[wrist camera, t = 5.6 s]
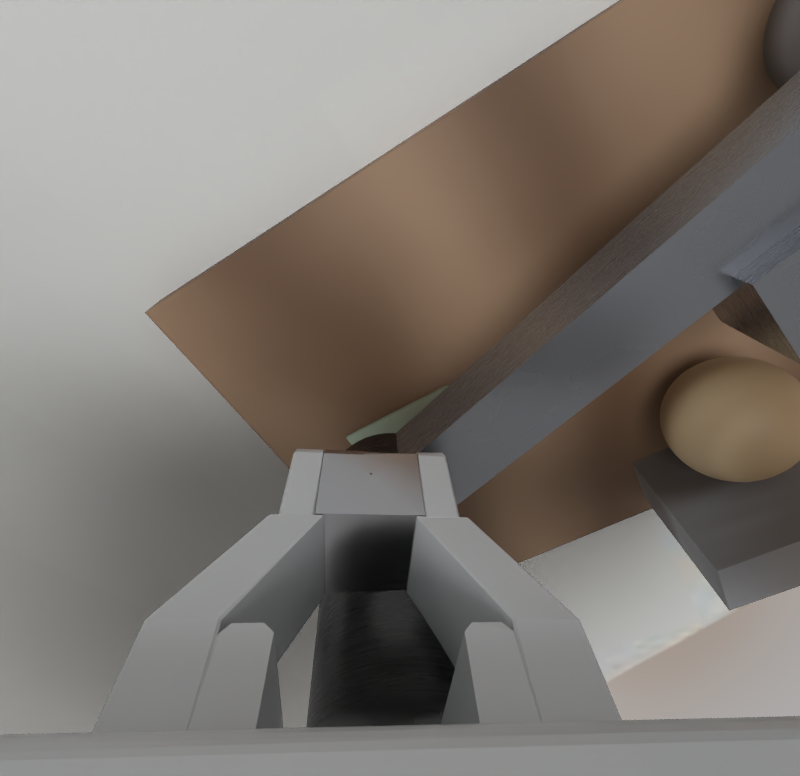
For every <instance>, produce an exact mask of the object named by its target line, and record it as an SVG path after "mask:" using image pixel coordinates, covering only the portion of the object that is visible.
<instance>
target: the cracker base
mask: <svg viewBox="0 0 800 776" xmlns="http://www.w3.org/2000/svg"><path fill="white" fill-rule="evenodd" d="M799 71H800V0H619V1H618V2H616V3H615V4H613V5H612V6H610V7H609V8H607V9H606V10H604V11H603V12H601V13H599V14H598V15H596V16H595V17H593V18H592V19H590V20H589V21H587V22H586V23H584V24H583V25H581V26H580V27H578V28H576V29H575V30H573V31H572V32H570V33H569V34H567V35H566V36H564V37H563V38H561V39H560V40H558V41H557V42H555V43H554V44H552V45H550V46H549V47H547V48H546V49H544V50H543V51H541V52H540V53H538V54H537V55H535V56H534V57H532V58H531V59H529V60H527V61H526V62H524V63H523V64H521V65H520V66H518V67H517V68H515V69H514V70H512V71H511V72H509V73H508V74H506V75H505V76H503V77H501V78H500V79H498V80H497V81H495V82H494V83H492V84H491V85H489V86H488V87H486V88H485V89H483V90H482V91H480V92H478V93H477V94H475V95H474V96H472V97H471V98H469V99H468V100H466V101H465V102H463V103H462V104H460V105H459V106H457V107H456V108H454V109H452V110H451V111H449V112H448V113H446V114H445V115H443V116H442V117H440V118H439V119H437V120H436V121H434V122H433V123H431V124H429V125H428V126H426V127H425V128H423V129H422V130H420V131H419V132H417V133H416V134H414V135H413V136H411V137H410V138H408V139H407V140H405V141H403V142H402V143H400V144H399V145H397V146H396V147H394V148H393V149H391V150H390V151H388V152H387V153H385V154H384V155H382V156H380V157H379V158H377V159H376V160H374V161H373V162H371V163H370V164H368V165H367V166H365V167H364V168H362V169H361V170H359V171H358V172H356V173H354V174H353V175H351V176H350V177H348V178H347V179H345V180H344V181H342V182H341V183H339V184H338V185H336V186H335V187H333V188H331V189H330V190H328V191H327V192H325V193H324V194H322V195H321V196H319V197H318V198H316V199H315V200H313V201H312V202H310V203H309V204H307V205H305V206H304V207H302V208H301V209H299V210H298V211H296V212H295V213H293V214H292V215H290V216H289V217H287V218H286V219H284V220H283V221H281V222H279V223H278V224H276V225H275V226H273V227H272V228H270V229H269V230H267V231H266V232H264V233H263V234H261V235H260V236H258V237H256V238H255V239H253V240H252V241H250V242H249V243H247V244H246V245H244V246H243V247H241V248H240V249H238V250H237V251H235V252H234V253H232V254H230V255H229V256H227V257H226V258H224V259H223V260H221V261H220V262H218V263H217V264H215V265H214V266H212V267H211V268H209V269H207V270H206V271H204V272H203V273H201V274H200V275H198V276H197V277H195V278H194V279H192V280H191V281H189V282H188V283H186V284H185V285H183V286H181V287H180V288H178V289H177V290H175V291H174V292H172V293H171V294H169V295H168V296H166V297H165V298H163V299H162V300H160V301H159V302H158V303H156V304H155V305H154V306H153V307H151V308H150V309H149V310H148V311H146V312H145V313H146V314H147V315H148V316H149V318H150V319H151V320H152V321H153V322H154V323H155V324H156V325H157V326H158V327H159V328H160V329H161V330H162V332H163V333H164V334H165V335H166V336H167V337H168V338H169V339H170V340H171V341H172V342H173V343H174V344H175V346H176V347H177V348H178V349H179V350H180V351H181V352H182V353H183V354H184V355H185V356H186V357H187V358H188V360H189V361H190V362H191V363H192V364H193V365H194V366H195V367H196V368H197V369H198V370H199V371H200V373H201V374H202V375H203V376H204V377H205V378H206V379H207V380H208V381H209V382H210V383H211V384H212V385H213V387H214V388H215V389H216V390H217V391H218V392H219V393H220V394H221V395H222V396H223V397H224V398H225V399H226V401H227V402H228V403H229V404H230V405H231V406H232V407H233V408H234V409H235V410H236V411H237V412H238V413H239V415H240V416H241V417H242V418H243V419H244V420H245V421H246V422H247V423H248V424H249V425H250V426H251V428H252V429H253V430H254V431H255V432H256V433H257V434H258V435H259V436H260V437H261V438H262V439H263V440H264V442H265V443H266V444H267V445H268V446H269V447H270V448H271V449H272V450H273V451H274V452H275V453H276V454H277V456H278V457H279V458H280V459H281V460H282V461H283V462H284V463H285V464H286V465H287V466H288V467H289V468H290V466H291V462H292V458H293V454H294V452H295V451H296V449H319V450H324V451H325V450H344V451H346V449H348V448H349V447H350V446H351V445H353V444H354V443H356V442H358V441H360V440H362V439H364V438H366V437H369V436H372V435H377V434H383V433H397V432H398V431H399V430H400V429H401V428H402V427H403V426H404V425H406V424H407V423H408V422H409V421H410V420H411V419H412V418H413V417H414V416H416V415H417V414H418V413H419V412H420V411H421V410H422V409H423V408H425V407H426V406H427V405H428V404H429V403H430V402H431V401H432V400H433V399H435V398H436V397H437V396H438V395H439V394H440V393H441V392H442V391H443V390H445V389H446V388H447V387H448V386H449V385H450V384H451V383H452V382H453V381H455V380H456V379H457V378H458V377H459V376H460V375H461V374H462V373H463V372H465V371H466V370H467V369H468V368H469V367H470V366H471V365H472V364H474V363H475V362H476V361H477V360H478V359H479V358H480V357H481V356H482V355H484V354H485V353H486V352H487V351H488V350H489V349H490V348H491V347H492V346H494V345H495V344H496V343H497V342H498V341H499V340H500V339H501V338H502V337H504V336H505V335H506V334H507V333H508V332H509V331H510V330H511V329H513V328H514V327H515V326H516V325H517V324H518V323H519V322H520V321H521V320H523V319H524V318H525V317H526V316H527V315H528V314H529V313H530V312H531V311H533V310H534V309H535V308H536V307H537V306H538V305H539V304H540V303H541V302H543V301H544V300H545V299H546V298H547V297H548V296H549V295H550V294H551V293H553V292H554V291H555V290H556V289H557V288H558V287H559V286H560V285H562V284H563V283H564V282H565V281H566V280H567V279H568V278H569V277H570V276H572V275H573V274H574V273H575V272H576V271H577V270H578V269H579V268H580V267H582V266H583V265H584V264H585V263H586V262H587V261H588V260H589V259H590V258H592V257H593V256H594V255H595V254H596V253H597V252H598V251H599V250H600V249H602V248H603V247H604V246H605V245H606V244H607V243H608V242H609V241H611V240H612V239H613V238H614V237H615V236H616V235H617V234H618V233H619V232H621V231H622V230H623V229H624V228H625V227H626V226H627V225H628V224H629V223H631V222H632V221H633V220H634V219H635V218H636V217H637V216H638V215H639V214H641V213H642V212H643V211H644V210H645V209H646V208H647V207H648V206H649V205H651V204H652V203H653V202H654V201H655V200H656V199H657V198H658V197H660V196H661V195H662V194H663V193H664V192H665V191H666V190H667V189H668V188H670V187H671V186H672V185H673V184H674V183H675V182H676V181H677V180H678V179H680V178H681V177H682V176H683V175H684V174H685V173H686V172H687V171H688V170H690V169H691V168H692V167H693V166H694V165H695V164H696V163H697V162H699V161H700V160H701V159H702V158H703V157H704V156H705V155H706V154H707V153H709V152H710V151H711V150H712V149H713V148H714V147H715V146H716V145H717V144H719V143H720V142H721V141H722V140H723V139H724V138H725V137H726V136H727V135H729V134H730V133H731V132H732V131H733V130H734V129H735V128H736V127H737V126H739V125H740V124H741V123H742V122H743V121H744V120H745V119H746V118H748V117H749V116H750V115H751V114H752V113H753V112H754V111H755V110H756V109H758V108H759V107H760V106H761V105H762V104H763V103H764V102H765V101H766V100H768V99H769V98H770V97H771V96H772V95H773V94H774V93H775V92H776V91H778V90H779V89H780V88H781V87H782V86H783V85H784V84H785V83H786V82H788V81H789V80H790V79H791V78H792V77H793V76H794V75H795V74H797V73H798V72H799ZM652 508H653V509H654V511H655V512H656V513H657V515H658V516H659V517H660V518H661V520H662V521H663V522H664V524H665V525H666V526H667V528H668V529H669V530H670V532H671V533H672V534H673V536H674V537H675V538H676V540H677V541H678V542H679V544H680V545H681V546H682V548H683V549H684V550H685V552H686V553H687V554H688V556H689V557H690V558H691V560H692V561H693V562H694V564H695V565H696V566H697V568H698V569H699V570H700V572H701V573H702V574H703V576H704V577H705V578H706V580H707V581H708V582H709V584H710V585H711V586H712V588H713V589H714V590H715V592H716V593H717V594H718V596H719V597H720V598H721V600H722V601H723V602H724V604H725V605H726V606H727V608H728V609H729V610H732V609H735V608H738V607H740V606H743V605H746V604H749V603H752V602H755V601H758V600H761V599H763V598H766V597H769V596H772V595H775V594H778V593H781V592H784V591H786V590H789V589H792V588H795V587H798V586H800V364H799V363H797V362H795V361H793V360H791V359H789V358H787V357H786V356H784V355H782V354H780V353H778V352H776V351H775V350H773V349H771V348H769V347H767V346H765V345H763V344H762V343H760V342H758V341H756V340H754V339H752V338H751V337H749V336H747V335H745V334H743V333H741V332H739V331H738V330H736V329H734V328H732V327H730V326H728V325H727V324H725V323H723V322H721V321H720V320H719V318H718V317H717V315H716V314H715V312H714V311H713V310H712V309H711V310H710V311H708V312H707V313H706V314H705V315H703V316H702V317H701V318H699V319H698V320H697V321H695V322H694V323H693V324H692V325H690V326H689V327H688V328H686V329H685V330H684V331H682V332H681V333H680V334H679V335H677V336H676V337H675V338H673V339H672V340H671V341H670V342H668V343H667V344H666V345H664V346H663V347H662V348H660V349H659V350H658V351H657V352H655V353H654V354H653V355H651V356H650V357H649V358H647V359H646V360H645V361H644V362H642V363H641V364H640V365H638V366H637V367H636V368H634V369H633V370H632V371H631V372H629V373H628V374H627V375H625V376H624V377H623V378H622V379H620V380H619V381H618V382H616V383H615V384H614V385H612V386H611V387H610V388H609V389H607V390H606V391H605V392H603V393H602V394H601V395H599V396H598V397H597V398H596V399H594V400H593V401H592V402H590V403H589V404H588V405H586V406H585V407H584V408H583V409H581V410H580V411H579V412H577V413H576V414H575V415H574V416H572V417H571V418H570V419H568V420H567V421H566V422H564V423H563V424H562V425H561V426H559V427H558V428H557V429H555V430H554V431H553V432H551V433H550V434H549V435H548V436H546V437H545V438H544V439H542V440H541V441H540V442H538V443H537V444H536V445H535V446H533V447H532V448H531V449H529V450H528V451H527V452H526V453H524V454H523V455H522V456H520V457H519V458H518V459H516V460H515V461H514V462H513V463H511V464H510V465H509V466H507V467H506V468H505V469H503V470H502V471H501V472H500V473H498V474H497V475H496V476H494V477H493V478H492V479H490V480H489V481H488V482H487V483H485V484H484V485H483V486H481V487H480V488H479V489H478V490H476V491H475V492H474V493H472V494H471V495H470V496H468V497H467V498H466V499H465V500H463V501H462V502H461V503H459V504H458V505H457V509H458V513H459V517H467V518H469V519H470V520H471V521H472V522H473V523H474V524H475V525H477V526H478V527H479V528H480V529H481V530H482V531H483V532H484V533H485V534H486V535H487V536H489V537H490V538H491V539H492V540H493V541H494V542H495V543H496V544H497V545H498V546H499V547H501V548H502V549H503V550H504V551H505V552H506V553H507V554H508V555H509V556H510V557H511V558H513V559H514V560H515V561H516V562H517V563H519V562H522V561H524V560H527V559H529V558H532V557H534V556H536V555H539V554H541V553H544V552H546V551H549V550H551V549H554V548H556V547H558V546H561V545H563V544H566V543H568V542H571V541H573V540H576V539H578V538H581V537H583V536H585V535H588V534H590V533H593V532H595V531H598V530H600V529H603V528H605V527H607V526H610V525H612V524H615V523H617V522H620V521H622V520H625V519H627V518H630V517H632V516H634V515H637V514H639V513H642V512H644V511H647V510H649V509H652Z"/></svg>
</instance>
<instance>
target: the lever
mask: <svg viewBox="0 0 800 776" xmlns="http://www.w3.org/2000/svg"><path fill="white" fill-rule="evenodd" d="M711 309H712V310H713V311H714V312H715V314H716V315H717V317H718V318H719V320H720V321H721V322H723V323H725V324H727V325H728V326H730V327H732V328H734V329H736V330H738V331H739V332H741V333H743V334H745V335H747V336H749V337H751V338H752V339H754V340H756V341H758V342H760V343H762V344H763V345H765V346H767V347H769V348H771V349H773V350H775V351H776V352H778V353H780V354H782V355H784V356H786V357H787V358H789V359H791V360H793V361H795V362H797V363H799V364H800V71H799V72H798V73H797V74H795V75H794V76H793V77H792V78H791V79H790V80H789V81H788V82H786V83H785V84H784V85H783V86H782V87H781V88H780V89H779V90H778V91H776V92H775V93H774V94H773V95H772V96H771V97H770V98H769V99H768V100H766V101H765V102H764V103H763V104H762V105H761V106H760V107H759V108H758V109H756V110H755V111H754V112H753V113H752V114H751V115H750V116H749V117H748V118H746V119H745V120H744V121H743V122H742V123H741V124H740V125H739V126H737V127H736V128H735V129H734V130H733V131H732V132H731V133H730V134H729V135H727V136H726V137H725V138H724V139H723V140H722V141H721V142H720V143H719V144H717V145H716V146H715V147H714V148H713V149H712V150H711V151H710V152H709V153H707V154H706V155H705V156H704V157H703V158H702V159H701V160H700V161H699V162H697V163H696V164H695V165H694V166H693V167H692V168H691V169H690V170H688V171H687V172H686V173H685V174H684V175H683V176H682V177H681V178H680V179H678V180H677V181H676V182H675V183H674V184H673V185H672V186H671V187H670V188H668V189H667V190H666V191H665V192H664V193H663V194H662V195H661V196H660V197H658V198H657V199H656V200H655V201H654V202H653V203H652V204H651V205H649V206H648V207H647V208H646V209H645V210H644V211H643V212H642V213H641V214H639V215H638V216H637V217H636V218H635V219H634V220H633V221H632V222H631V223H629V224H628V225H627V226H626V227H625V228H624V229H623V230H622V231H621V232H619V233H618V234H617V235H616V236H615V237H614V238H613V239H612V240H611V241H609V242H608V243H607V244H606V245H605V246H604V247H603V248H602V249H600V250H599V251H598V252H597V253H596V254H595V255H594V256H593V257H592V258H590V259H589V260H588V261H587V262H586V263H585V264H584V265H583V266H582V267H580V268H579V269H578V270H577V271H576V272H575V273H574V274H573V275H572V276H570V277H569V278H568V279H567V280H566V281H565V282H564V283H563V284H562V285H560V286H559V287H558V288H557V289H556V290H555V291H554V292H553V293H551V294H550V295H549V296H548V297H547V298H546V299H545V300H544V301H543V302H541V303H540V304H539V305H538V306H537V307H536V308H535V309H534V310H533V311H531V312H530V313H529V314H528V315H527V316H526V317H525V318H524V319H523V320H521V321H520V322H519V323H518V324H517V325H516V326H515V327H514V328H513V329H511V330H510V331H509V332H508V333H507V334H506V335H505V336H504V337H502V338H501V339H500V340H499V341H498V342H497V343H496V344H495V345H494V346H492V347H491V348H490V349H489V350H488V351H487V352H486V353H485V354H484V355H482V356H481V357H480V358H479V359H478V360H477V361H476V362H475V363H474V364H472V365H471V366H470V367H469V368H468V369H467V370H466V371H465V372H463V373H462V374H461V375H460V376H459V377H458V378H457V379H456V380H455V381H453V382H452V383H451V384H450V385H449V386H448V387H447V388H446V389H445V390H443V391H442V392H441V393H440V394H439V395H438V396H437V397H436V398H435V399H433V400H432V401H431V402H430V403H429V404H428V405H427V406H426V407H425V408H423V409H422V410H421V411H420V412H419V413H418V414H417V415H416V416H414V417H413V418H412V419H411V420H410V421H409V422H408V423H407V424H406V425H404V426H403V427H402V428H401V429H400V430H399V431H398V432H397V433H383V434H377V435H372V436H369V437H366V438H364V439H362V440H360V441H358V442H356V443H354V444H353V445H351V446H350V447H349V448H348V449H346V451H364V452H379V453H415V454H416V453H443V454H444V455H445V456H446V461H447V465H448V469H449V474H450V478H451V482H452V487H453V491H454V496H455V500H456V504H457V505H458V504H459V503H461V502H462V501H463V500H465V499H466V498H467V497H468V496H470V495H471V494H472V493H474V492H475V491H476V490H478V489H479V488H480V487H481V486H483V485H484V484H485V483H487V482H488V481H489V480H490V479H492V478H493V477H494V476H496V475H497V474H498V473H500V472H501V471H502V470H503V469H505V468H506V467H507V466H509V465H510V464H511V463H513V462H514V461H515V460H516V459H518V458H519V457H520V456H522V455H523V454H524V453H526V452H527V451H528V450H529V449H531V448H532V447H533V446H535V445H536V444H537V443H538V442H540V441H541V440H542V439H544V438H545V437H546V436H548V435H549V434H550V433H551V432H553V431H554V430H555V429H557V428H558V427H559V426H561V425H562V424H563V423H564V422H566V421H567V420H568V419H570V418H571V417H572V416H574V415H575V414H576V413H577V412H579V411H580V410H581V409H583V408H584V407H585V406H586V405H588V404H589V403H590V402H592V401H593V400H594V399H596V398H597V397H598V396H599V395H601V394H602V393H603V392H605V391H606V390H607V389H609V388H610V387H611V386H612V385H614V384H615V383H616V382H618V381H619V380H620V379H622V378H623V377H624V376H625V375H627V374H628V373H629V372H631V371H632V370H633V369H634V368H636V367H637V366H638V365H640V364H641V363H642V362H644V361H645V360H646V359H647V358H649V357H650V356H651V355H653V354H654V353H655V352H657V351H658V350H659V349H660V348H662V347H663V346H664V345H666V344H667V343H668V342H670V341H671V340H672V339H673V338H675V337H676V336H677V335H679V334H680V333H681V332H682V331H684V330H685V329H686V328H688V327H689V326H690V325H692V324H693V323H694V322H695V321H697V320H698V319H699V318H701V317H702V316H703V315H705V314H706V313H707V312H708V311H710V310H711ZM454 671H455V667H454V665H453V664H452V662H451V660H450V659H449V657H448V655H447V654H446V652H445V650H444V649H443V647H442V645H441V644H440V642H439V640H438V639H437V637H436V636H435V634H434V633H433V631H432V629H431V628H430V626H429V625H428V623H427V622H426V620H425V618H424V617H423V615H422V614H421V612H420V611H419V609H418V608H417V606H416V605H415V603H414V602H413V600H412V599H411V598H410V596H409V595H408V593H407V590H392V591H383V592H331V593H324V597H323V599H322V600H321V601H320V605H319V615H318V624H317V634H316V643H315V652H314V662H313V671H312V681H311V690H310V700H309V709H308V718H307V727H346V726H389V725H432V724H441V721H442V717H443V713H444V709H445V705H446V702H447V698H448V694H449V690H450V686H451V682H452V678H453V675H454Z"/></svg>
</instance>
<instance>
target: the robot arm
mask: <svg viewBox="0 0 800 776" xmlns="http://www.w3.org/2000/svg"><path fill="white" fill-rule="evenodd" d="M392 590H407V593H408V595H409V596H410V598H411V599H412V600H413V602H414V603H415V605H416V606H417V608H418V609H419V611H420V612H421V614H422V615H423V617H424V618H425V620H426V622H427V623H428V625H429V626H430V628H431V629H432V631H433V633H434V634H435V636H436V637H437V639H438V640H439V642H440V644H441V645H442V647H443V649H444V650H445V652H446V654H447V655H448V657H449V659H450V660H451V662H452V664H453V665H454V667H455V671H454V675H453V678H452V682H451V686H450V690H449V694H448V698H447V702H446V705H445V709H444V713H443V717H442V721H441V724H432V725H389V726H346V727H304V728H283V720H282V710H281V700H280V690H279V680H278V670H277V662H278V661H279V659H280V658H281V657H282V655H283V654H284V652H285V651H286V649H287V648H288V647H289V645H290V644H291V642H292V641H293V640H294V638H295V637H296V635H297V634H298V633H299V631H300V630H301V628H302V627H303V625H304V624H305V623H306V621H307V620H308V618H309V617H310V616H311V614H312V613H313V611H314V610H315V608H316V607H317V606H318V604H319V603H320V601H321V600H322V599H323V597H324V593H331V592H383V591H392ZM0 776H800V716H786V717H744V718H705V719H704V718H703V719H702V718H701V719H664V720H662V719H661V720H622V719H621V717H620V715H619V713H618V710H617V708H616V705H615V703H614V701H613V698H612V696H611V693H610V691H609V689H608V686H607V684H606V681H605V679H604V677H603V674H602V672H601V670H600V667H599V665H598V662H597V660H596V658H595V655H594V653H593V651H592V648H591V646H590V643H589V641H588V639H587V636H586V634H585V632H584V629H583V627H582V624H581V622H580V620H579V619H578V618H577V617H576V616H575V615H574V614H573V613H571V612H570V611H569V610H568V609H567V608H566V607H565V606H564V605H563V604H562V603H561V602H559V601H558V600H557V599H556V598H555V597H554V596H553V595H552V594H551V593H550V592H549V591H547V590H546V589H545V588H544V587H543V586H542V585H541V584H540V583H539V582H538V581H537V580H535V579H534V578H533V577H532V576H531V575H530V574H529V573H528V572H527V571H526V570H525V569H523V568H522V567H521V566H520V565H519V564H518V563H517V562H516V561H515V560H514V559H513V558H511V557H510V556H509V555H508V554H507V553H506V552H505V551H504V550H503V549H502V548H501V547H499V546H498V545H497V544H496V543H495V542H494V541H493V540H492V539H491V538H490V537H489V536H487V535H486V534H485V533H484V532H483V531H482V530H481V529H480V528H479V527H478V526H477V525H475V524H474V523H473V522H472V521H471V520H470V519H469V518H467V517H459V513H458V509H457V504H456V500H455V496H454V491H453V487H452V482H451V478H450V474H449V469H448V465H447V461H446V456H445V455H444V454H443V453H416V454H415V453H379V452H364V451H344V450H325V451H324V450H319V449H296V451H295V452H294V454H293V458H292V462H291V466H290V470H289V474H288V478H287V482H286V486H285V490H284V494H283V498H282V502H281V507H280V511H279V514H269V515H268V516H267V517H266V518H265V519H263V520H262V521H261V522H260V523H259V524H257V525H256V526H255V527H254V528H253V529H252V530H250V531H249V532H248V533H247V534H246V535H244V536H243V537H242V538H241V539H240V540H239V541H237V542H236V543H235V544H234V545H233V546H231V547H230V548H229V549H228V550H227V551H226V552H224V553H223V554H222V555H221V556H220V557H218V558H217V559H216V560H215V561H214V562H213V563H211V564H210V565H209V566H208V567H207V568H205V569H204V570H203V571H202V572H201V573H200V574H198V575H197V576H196V577H195V578H194V579H192V580H191V581H190V582H189V583H188V584H187V585H185V586H184V587H183V588H182V589H181V590H179V591H178V592H177V593H176V594H175V595H174V596H172V597H171V598H170V599H169V600H168V601H166V602H165V603H164V604H163V605H162V606H161V607H159V608H158V609H157V610H156V611H155V612H154V613H152V614H151V615H150V616H149V617H148V618H146V619H145V620H144V623H143V625H142V627H141V629H140V631H139V633H138V635H137V637H136V640H135V642H134V644H133V646H132V648H131V650H130V652H129V655H128V657H127V659H126V661H125V663H124V665H123V667H122V669H121V672H120V674H119V676H118V678H117V680H116V682H115V684H114V686H113V689H112V691H111V693H110V695H109V697H108V699H107V701H106V704H105V706H104V708H103V710H102V712H101V714H100V716H99V718H98V721H97V723H96V725H95V727H94V729H93V731H92V732H90V733H47V734H4V735H0Z"/></svg>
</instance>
